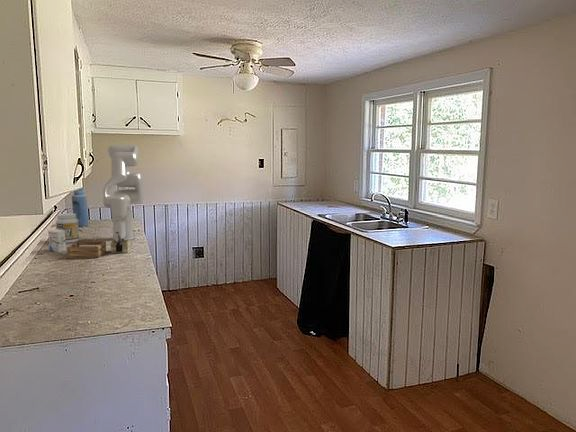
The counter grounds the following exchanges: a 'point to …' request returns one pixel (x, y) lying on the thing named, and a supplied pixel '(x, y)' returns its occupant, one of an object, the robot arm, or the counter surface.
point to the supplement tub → (68, 226)
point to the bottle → (80, 207)
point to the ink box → (57, 240)
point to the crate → (86, 249)
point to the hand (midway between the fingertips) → (120, 249)
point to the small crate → (124, 246)
